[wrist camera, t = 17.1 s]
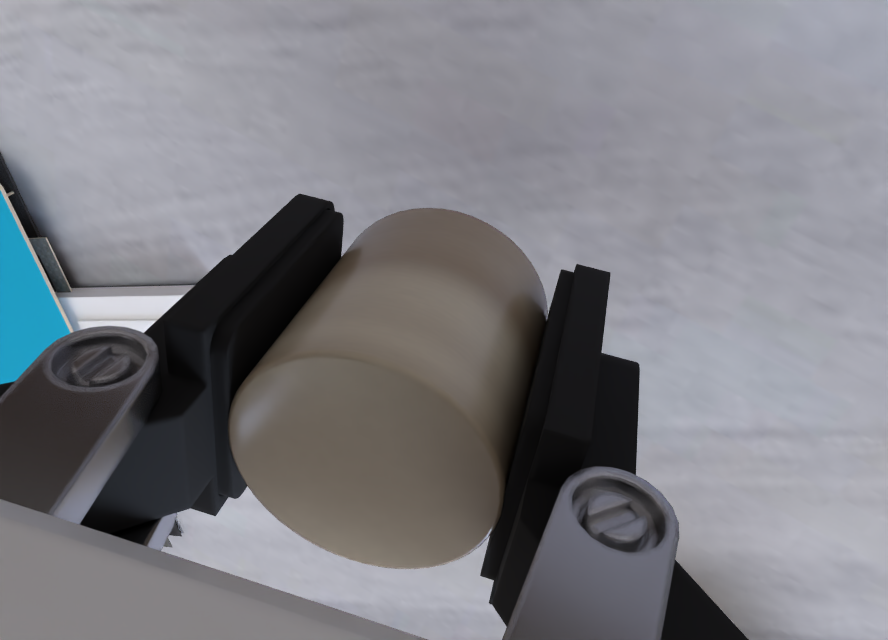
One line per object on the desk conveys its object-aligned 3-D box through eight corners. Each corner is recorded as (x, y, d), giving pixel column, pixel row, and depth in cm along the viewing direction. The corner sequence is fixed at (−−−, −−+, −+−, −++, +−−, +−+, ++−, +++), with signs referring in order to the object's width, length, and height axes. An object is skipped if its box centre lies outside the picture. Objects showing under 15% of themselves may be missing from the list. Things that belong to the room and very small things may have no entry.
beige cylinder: (348, 182, 11) (219, 317, 8) (572, 237, 11) (535, 404, 7) (335, 359, 13) (230, 523, 10) (522, 412, 13) (476, 602, 9)
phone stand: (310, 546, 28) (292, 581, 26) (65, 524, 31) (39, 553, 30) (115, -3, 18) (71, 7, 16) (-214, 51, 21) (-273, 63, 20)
